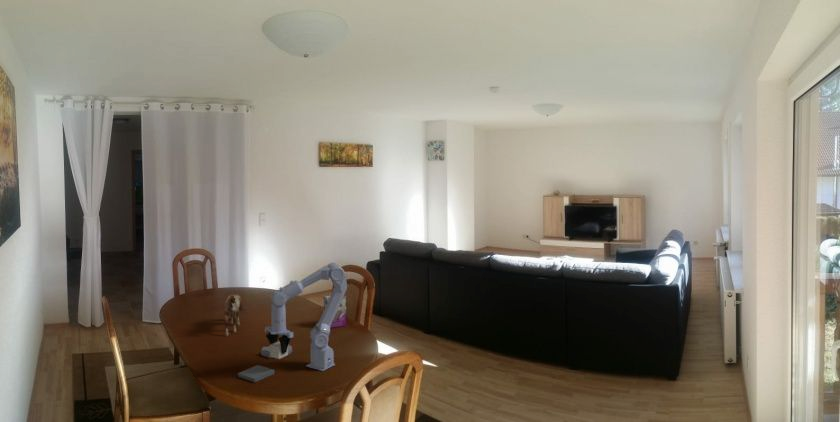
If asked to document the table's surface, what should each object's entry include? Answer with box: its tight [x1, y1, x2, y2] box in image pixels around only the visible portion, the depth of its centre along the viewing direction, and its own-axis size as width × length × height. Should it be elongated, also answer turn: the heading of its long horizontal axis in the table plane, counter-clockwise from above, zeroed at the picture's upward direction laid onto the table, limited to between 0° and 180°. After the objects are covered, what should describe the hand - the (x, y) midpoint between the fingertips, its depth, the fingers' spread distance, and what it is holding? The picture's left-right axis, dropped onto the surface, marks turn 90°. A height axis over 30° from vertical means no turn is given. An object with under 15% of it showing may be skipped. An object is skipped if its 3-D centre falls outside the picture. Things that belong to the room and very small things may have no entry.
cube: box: [269, 340, 289, 360], centre depth 212 cm, size 5×5×5 cm
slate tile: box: [237, 364, 275, 383], centre depth 209 cm, size 10×10×2 cm
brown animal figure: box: [223, 294, 247, 337], centre depth 266 cm, size 31×8×21 cm, turn 10°
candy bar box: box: [323, 294, 347, 329], centre depth 271 cm, size 11×5×16 cm, turn 120°
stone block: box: [260, 343, 293, 359], centre depth 233 cm, size 12×5×10 cm
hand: (279, 351), depth 213 cm, fingers closed on cube, 5 cm apart
